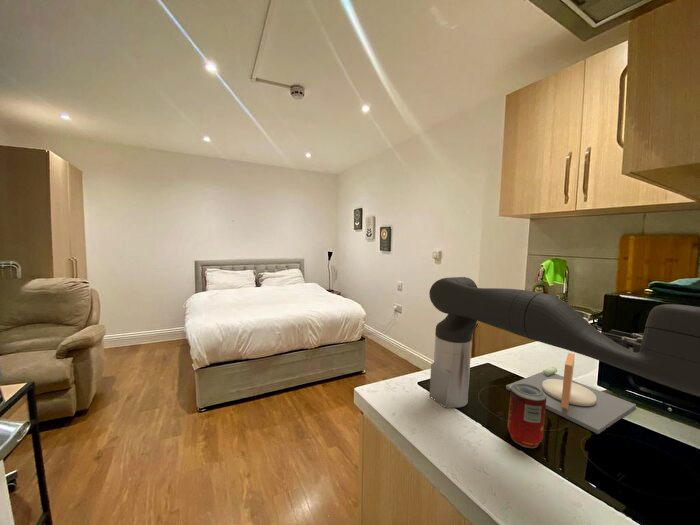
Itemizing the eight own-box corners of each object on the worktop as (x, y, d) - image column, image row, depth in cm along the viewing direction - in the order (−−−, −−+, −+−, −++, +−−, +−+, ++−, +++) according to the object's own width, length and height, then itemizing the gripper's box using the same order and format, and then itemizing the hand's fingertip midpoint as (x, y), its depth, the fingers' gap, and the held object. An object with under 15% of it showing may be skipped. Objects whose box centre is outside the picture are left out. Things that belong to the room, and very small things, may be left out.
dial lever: (545, 378, 89) (548, 340, 88) (596, 393, 81) (600, 351, 80) (535, 403, 76) (539, 358, 74) (595, 423, 68) (601, 373, 67)
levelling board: (595, 436, 65) (596, 424, 65) (502, 389, 84) (503, 380, 84) (636, 407, 77) (637, 397, 77) (547, 372, 96) (547, 364, 96)
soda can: (549, 450, 60) (554, 397, 59) (518, 450, 60) (522, 396, 59) (529, 429, 67) (533, 381, 66) (500, 429, 67) (504, 380, 66)
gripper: (735, 337, 55) (619, 315, 70) (716, 350, 49) (591, 323, 64) (730, 375, 56) (616, 346, 71) (710, 393, 49) (588, 356, 64)
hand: (605, 335), depth 67 cm, fingers open, 4 cm apart
